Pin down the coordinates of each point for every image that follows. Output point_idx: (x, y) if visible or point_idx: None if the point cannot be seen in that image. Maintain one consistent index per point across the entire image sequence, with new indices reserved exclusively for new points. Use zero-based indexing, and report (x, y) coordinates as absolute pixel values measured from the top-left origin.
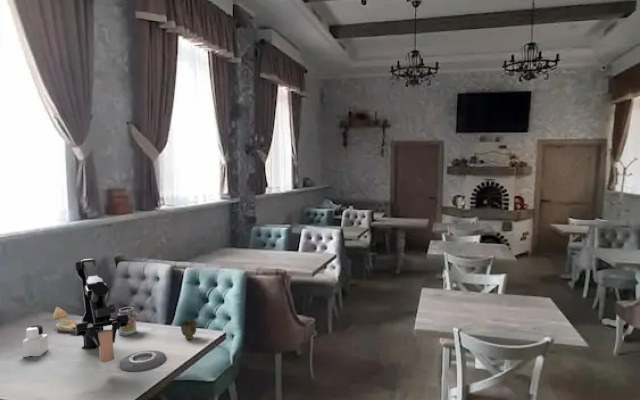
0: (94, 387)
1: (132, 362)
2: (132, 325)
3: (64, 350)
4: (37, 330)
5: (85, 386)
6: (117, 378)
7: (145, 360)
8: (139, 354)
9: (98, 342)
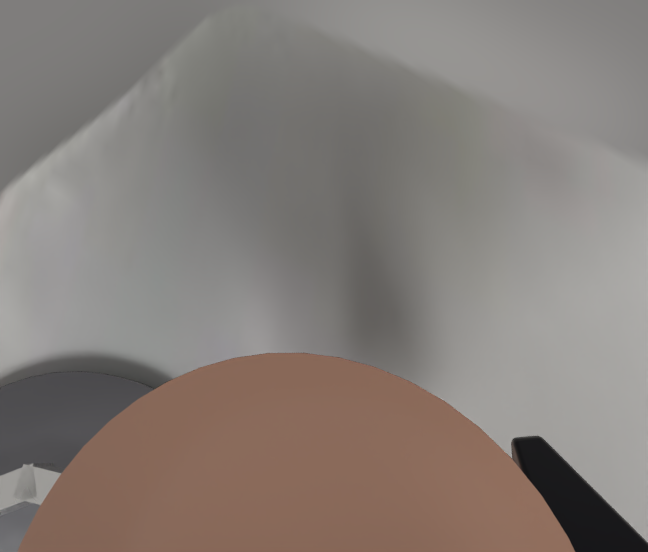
0: (542, 252)
1: None
2: None
3: None
4: None
5: (633, 318)
6: (333, 336)
7: (23, 496)
8: None
9: (545, 482)
